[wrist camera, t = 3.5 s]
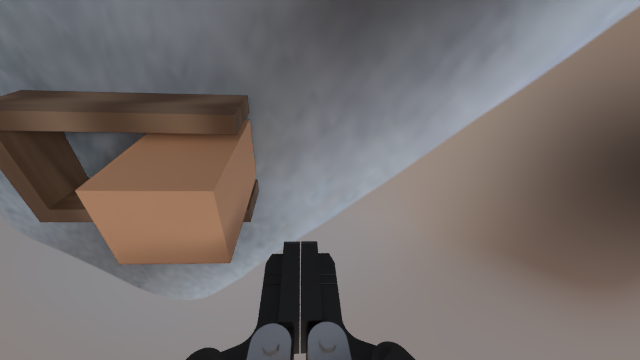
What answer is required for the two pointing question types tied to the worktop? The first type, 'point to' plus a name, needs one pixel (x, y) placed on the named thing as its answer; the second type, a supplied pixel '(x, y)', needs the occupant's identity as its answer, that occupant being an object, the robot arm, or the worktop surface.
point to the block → (174, 197)
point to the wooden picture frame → (95, 116)
